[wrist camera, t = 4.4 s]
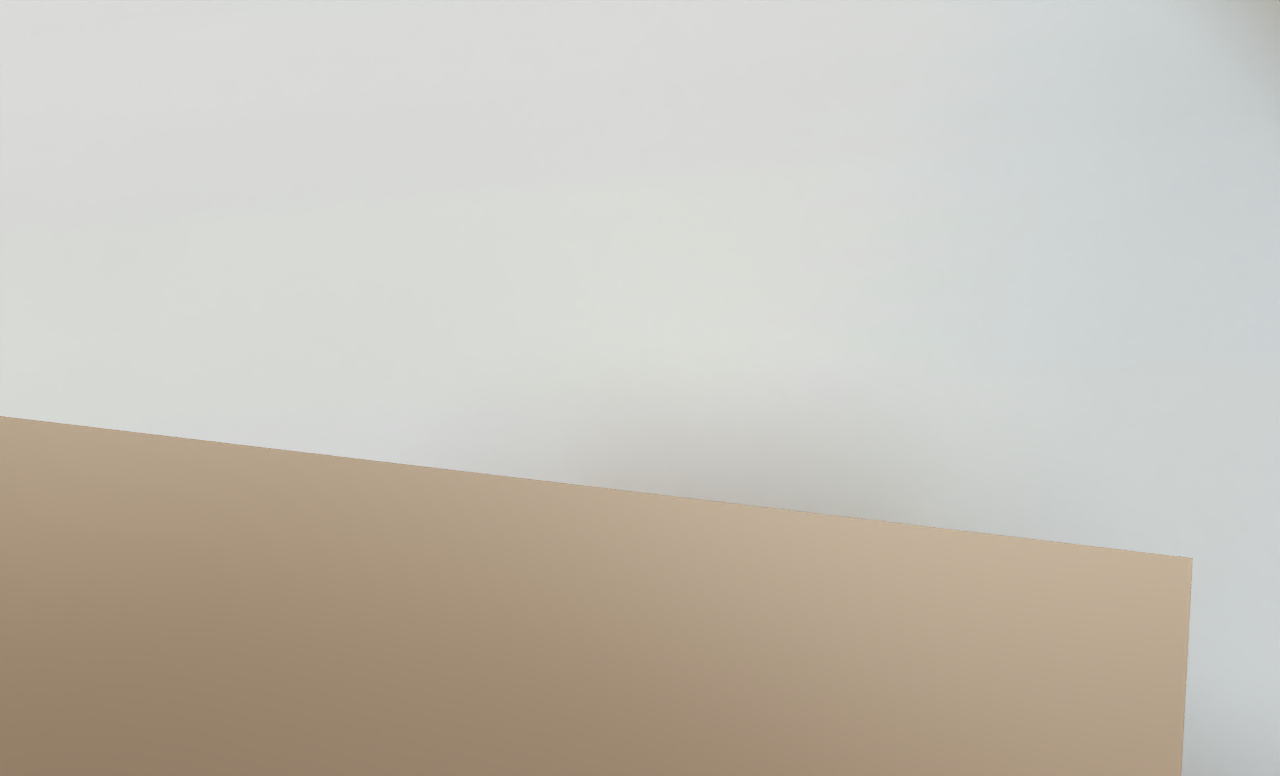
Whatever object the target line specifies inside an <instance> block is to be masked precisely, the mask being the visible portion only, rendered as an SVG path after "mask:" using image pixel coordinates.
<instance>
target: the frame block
mask: <svg viewBox="0 0 1280 776" xmlns="http://www.w3.org/2000/svg"><path fill="white" fill-rule="evenodd" d="M1192 562H1193V558H1187V557H1178V556H1170V555H1161V554H1153V553H1145V552H1136V551H1128V550H1119V549H1111V548H1103V547H1094V546H1086V545H1077V544H1069V543H1061V542H1052V541H1044V540H1035V539H1027V538H1019V537H1010V536H1002V535H993V534H985V533H977V532H968V531H960V530H951V529H943V528H935V527H926V526H918V525H909V524H901V523H893V522H884V521H876V520H867V519H859V518H851V517H842V516H834V515H825V514H817V513H809V512H800V511H792V510H784V509H775V508H767V507H758V506H750V505H742V504H733V503H725V502H716V501H708V500H700V499H691V498H683V497H674V496H666V495H658V494H649V493H641V492H632V491H624V490H616V489H607V488H599V487H590V486H582V485H574V484H565V483H557V482H548V481H540V480H532V479H523V478H515V477H506V476H498V475H490V474H481V473H473V472H464V471H456V470H448V469H439V468H431V467H422V466H414V465H406V464H397V463H389V462H380V461H372V460H364V459H355V458H347V457H338V456H330V455H322V454H313V453H305V452H296V451H288V450H280V449H271V448H263V447H254V446H246V445H238V444H229V443H221V442H213V441H204V440H196V439H187V438H179V437H171V436H162V435H154V434H145V433H137V432H129V431H120V430H112V429H103V428H95V427H87V426H78V425H70V424H61V423H53V422H45V421H36V420H28V419H19V418H11V417H3V416H0V776H1181V769H1182V750H1183V731H1184V713H1185V694H1186V675H1187V656H1188V637H1189V619H1190V600H1191V581H1192Z"/></svg>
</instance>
